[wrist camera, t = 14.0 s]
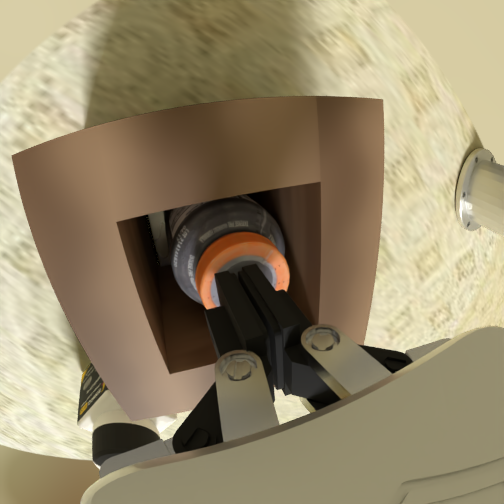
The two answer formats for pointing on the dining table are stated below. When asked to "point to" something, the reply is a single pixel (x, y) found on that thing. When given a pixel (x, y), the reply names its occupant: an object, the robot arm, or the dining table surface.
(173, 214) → the pill bottle
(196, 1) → the dining table surface
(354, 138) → the wooden box holder
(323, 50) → the dining table surface
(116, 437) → the medicine bottle
